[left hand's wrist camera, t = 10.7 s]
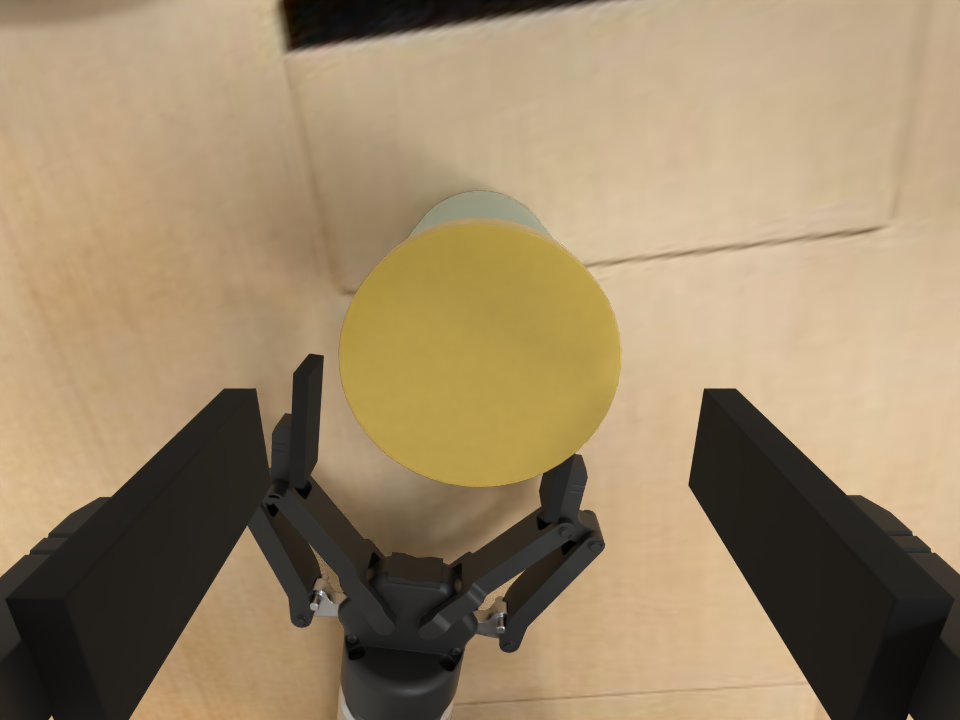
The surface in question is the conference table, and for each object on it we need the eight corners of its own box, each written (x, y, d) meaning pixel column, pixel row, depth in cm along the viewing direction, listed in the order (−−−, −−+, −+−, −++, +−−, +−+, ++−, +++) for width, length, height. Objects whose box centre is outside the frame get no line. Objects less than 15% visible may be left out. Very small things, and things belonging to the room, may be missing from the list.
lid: (524, 498, 22) (527, 526, 20) (308, 395, 20) (294, 416, 18) (662, 302, 19) (679, 316, 17) (423, 162, 17) (418, 164, 16)
